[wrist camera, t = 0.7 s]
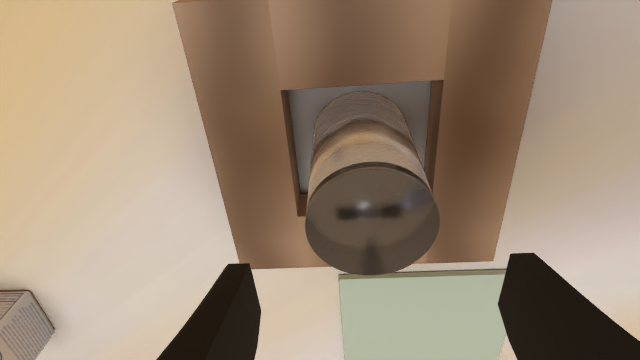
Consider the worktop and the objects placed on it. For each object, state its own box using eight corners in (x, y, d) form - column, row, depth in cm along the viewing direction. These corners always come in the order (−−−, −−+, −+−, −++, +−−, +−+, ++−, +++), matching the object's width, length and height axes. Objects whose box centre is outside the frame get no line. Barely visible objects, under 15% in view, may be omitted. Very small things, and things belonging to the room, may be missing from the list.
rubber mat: (521, 268, 23) (523, 273, 23) (491, 372, 29) (493, 377, 29) (338, 274, 24) (338, 279, 24) (345, 374, 30) (346, 380, 30)
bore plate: (533, -33, 15) (558, -28, 13) (480, 235, 22) (493, 261, 20) (189, -5, 16) (172, 3, 14) (248, 244, 23) (241, 269, 21)
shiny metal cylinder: (408, 88, 18) (446, 167, 12) (404, 172, 20) (434, 273, 14) (309, 94, 18) (298, 174, 12) (317, 176, 20) (311, 277, 14)
